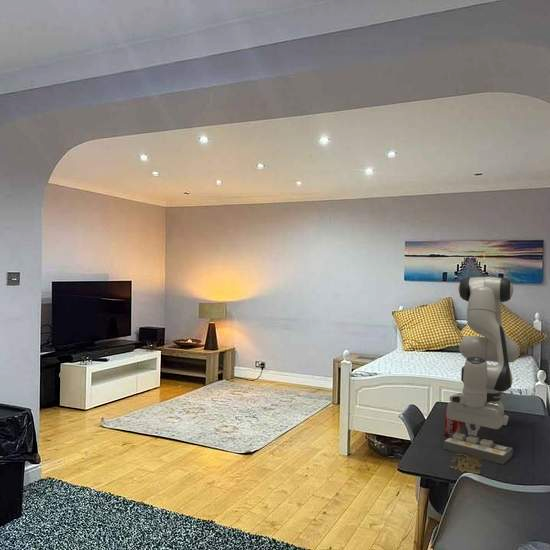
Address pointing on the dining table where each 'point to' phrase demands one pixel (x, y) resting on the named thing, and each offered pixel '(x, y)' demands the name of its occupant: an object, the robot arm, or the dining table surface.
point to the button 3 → (486, 443)
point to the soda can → (452, 426)
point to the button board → (478, 450)
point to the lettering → (467, 463)
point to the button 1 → (459, 436)
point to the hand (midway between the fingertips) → (472, 435)
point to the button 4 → (500, 448)
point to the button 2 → (472, 439)
